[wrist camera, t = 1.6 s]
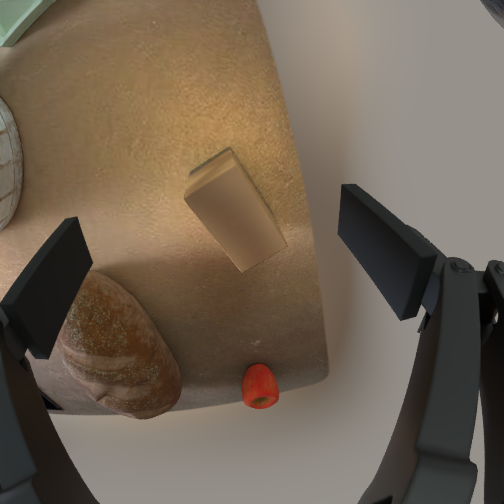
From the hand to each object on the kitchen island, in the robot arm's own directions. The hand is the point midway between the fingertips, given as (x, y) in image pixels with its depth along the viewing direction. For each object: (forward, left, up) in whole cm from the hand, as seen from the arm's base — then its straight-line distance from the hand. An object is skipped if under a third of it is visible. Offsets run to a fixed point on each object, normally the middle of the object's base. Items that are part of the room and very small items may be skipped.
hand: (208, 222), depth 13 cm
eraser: (+1, +6, -18) cm, 19 cm away
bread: (+28, +16, -18) cm, 36 cm away
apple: (+15, +35, -18) cm, 42 cm away
